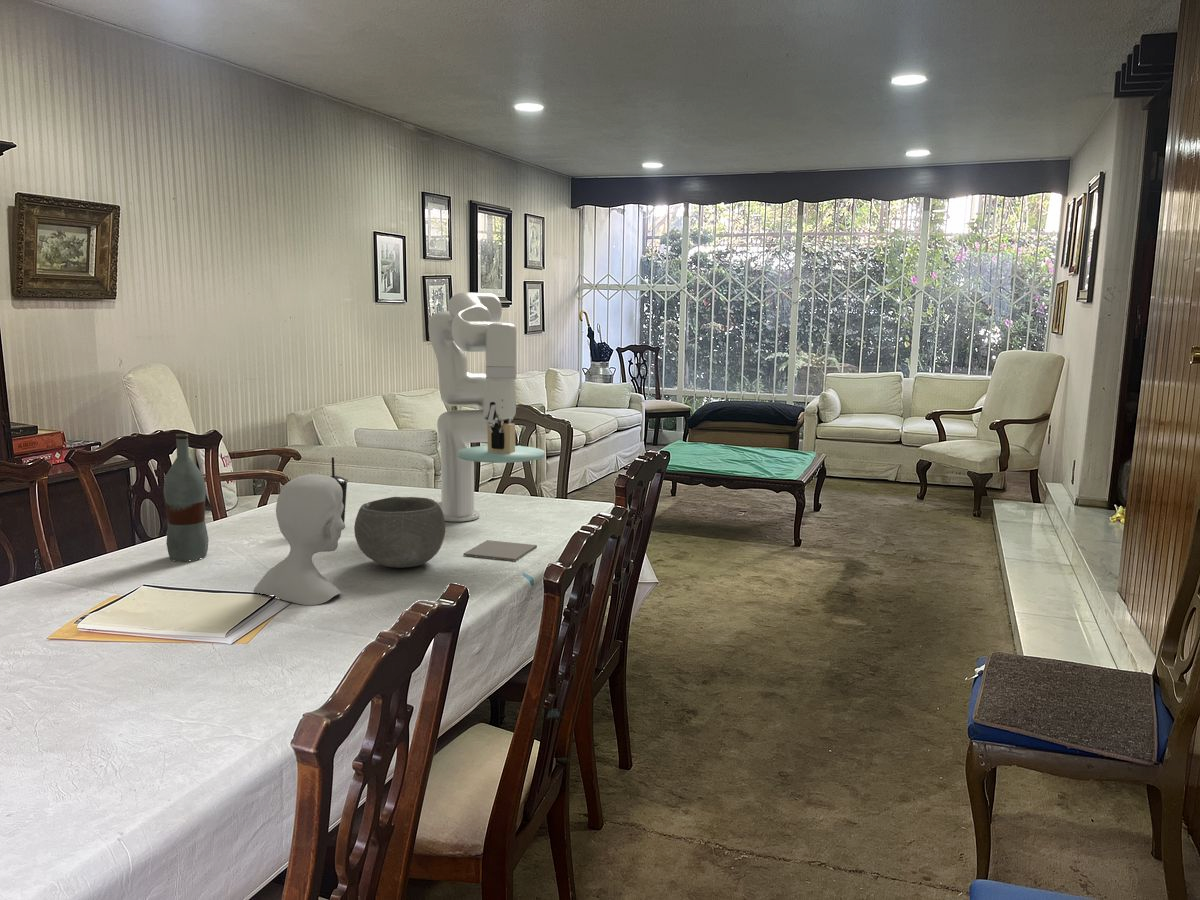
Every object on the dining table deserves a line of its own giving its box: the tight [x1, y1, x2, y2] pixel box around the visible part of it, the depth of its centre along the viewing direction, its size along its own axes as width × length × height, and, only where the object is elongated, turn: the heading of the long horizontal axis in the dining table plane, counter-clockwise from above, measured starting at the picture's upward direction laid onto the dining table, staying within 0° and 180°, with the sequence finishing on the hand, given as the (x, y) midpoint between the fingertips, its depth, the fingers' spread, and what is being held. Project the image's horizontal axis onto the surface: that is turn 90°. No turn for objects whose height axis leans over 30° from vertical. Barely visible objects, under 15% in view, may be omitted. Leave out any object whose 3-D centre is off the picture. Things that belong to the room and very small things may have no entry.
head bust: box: [253, 473, 346, 606], centre depth 191 cm, size 22×19×25 cm
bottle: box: [163, 433, 209, 562], centre depth 212 cm, size 9×9×30 cm
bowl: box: [354, 496, 446, 569], centre depth 210 cm, size 21×21×15 cm
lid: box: [458, 423, 546, 464], centre depth 220 cm, size 22×22×8 cm
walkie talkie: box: [329, 456, 349, 531], centre depth 243 cm, size 8×8×20 cm
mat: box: [463, 539, 538, 562], centre depth 224 cm, size 14×14×1 cm
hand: (501, 446), depth 220 cm, fingers closed on lid, 3 cm apart
